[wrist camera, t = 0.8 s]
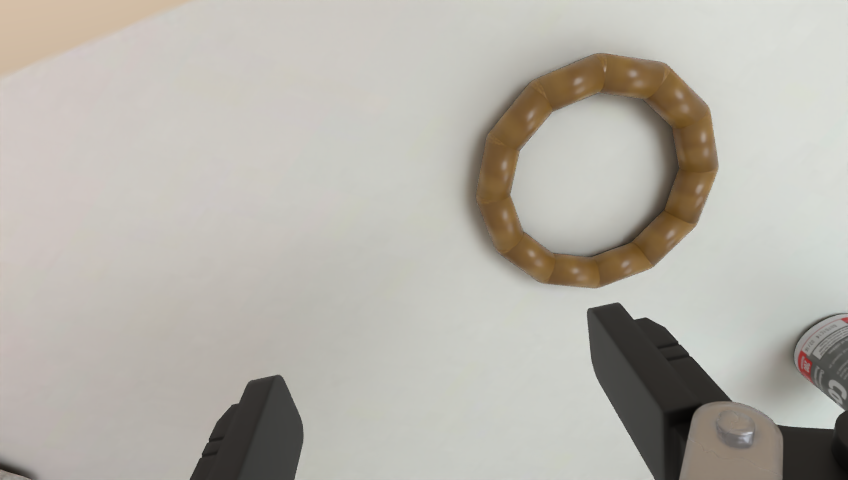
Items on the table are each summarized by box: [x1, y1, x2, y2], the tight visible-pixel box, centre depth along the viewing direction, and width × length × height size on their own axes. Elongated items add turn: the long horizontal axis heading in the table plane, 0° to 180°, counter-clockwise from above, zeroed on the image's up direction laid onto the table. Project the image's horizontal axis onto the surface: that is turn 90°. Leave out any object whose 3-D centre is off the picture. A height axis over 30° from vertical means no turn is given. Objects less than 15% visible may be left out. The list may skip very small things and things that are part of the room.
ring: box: [476, 53, 718, 288], centre depth 23 cm, size 11×11×2 cm
